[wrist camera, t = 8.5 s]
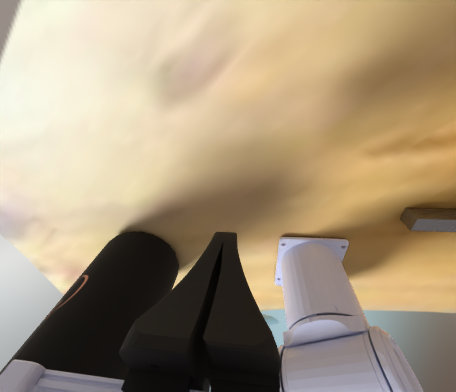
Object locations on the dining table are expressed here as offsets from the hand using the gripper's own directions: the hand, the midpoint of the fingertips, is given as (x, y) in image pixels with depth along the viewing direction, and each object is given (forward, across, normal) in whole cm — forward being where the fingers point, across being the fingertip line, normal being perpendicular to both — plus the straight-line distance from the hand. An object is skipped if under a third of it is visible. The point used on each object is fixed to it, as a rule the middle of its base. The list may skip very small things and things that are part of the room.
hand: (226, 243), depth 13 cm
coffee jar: (+10, +14, +13) cm, 21 cm away
